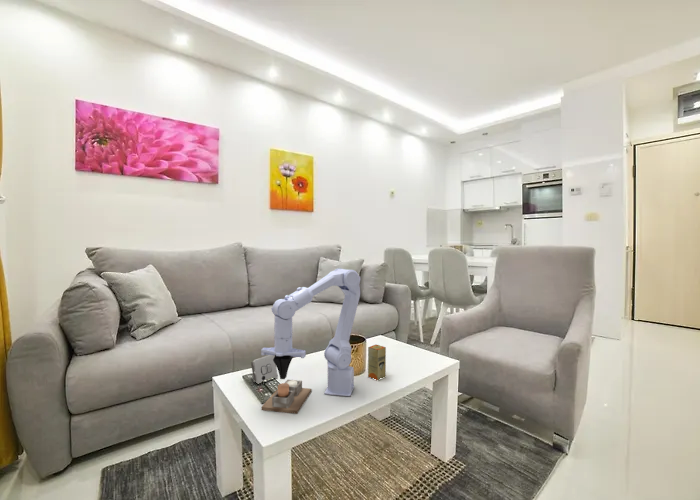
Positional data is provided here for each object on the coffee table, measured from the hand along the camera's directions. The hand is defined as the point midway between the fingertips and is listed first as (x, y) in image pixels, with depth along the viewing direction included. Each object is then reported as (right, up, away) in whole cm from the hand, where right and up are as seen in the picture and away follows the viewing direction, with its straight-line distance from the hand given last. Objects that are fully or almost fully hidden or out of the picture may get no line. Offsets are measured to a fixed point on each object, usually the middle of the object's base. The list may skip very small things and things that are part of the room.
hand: (283, 377), depth 101 cm
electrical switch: (-12, -9, +20) cm, 25 cm away
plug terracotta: (0, -6, 0) cm, 6 cm away
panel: (+1, -9, +4) cm, 10 cm away
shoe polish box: (+32, -9, +23) cm, 41 cm away
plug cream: (+1, -8, +8) cm, 11 cm away
